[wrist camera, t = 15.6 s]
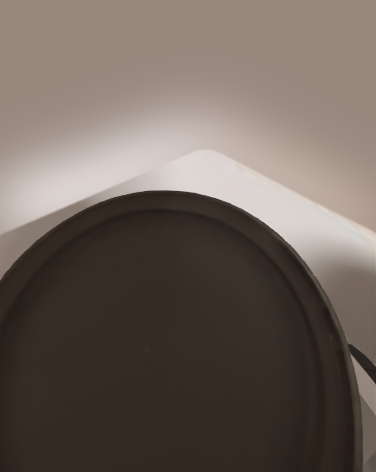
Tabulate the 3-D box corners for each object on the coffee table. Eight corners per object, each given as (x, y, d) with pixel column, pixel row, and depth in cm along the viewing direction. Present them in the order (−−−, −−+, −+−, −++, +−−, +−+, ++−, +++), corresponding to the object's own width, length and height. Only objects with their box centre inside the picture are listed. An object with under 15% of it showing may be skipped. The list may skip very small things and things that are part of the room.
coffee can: (154, 418, 15) (-77, 1141, 2) (110, 302, 18) (-78, 277, 5) (254, 345, 17) (475, 455, 4) (197, 253, 20) (213, 149, 7)
